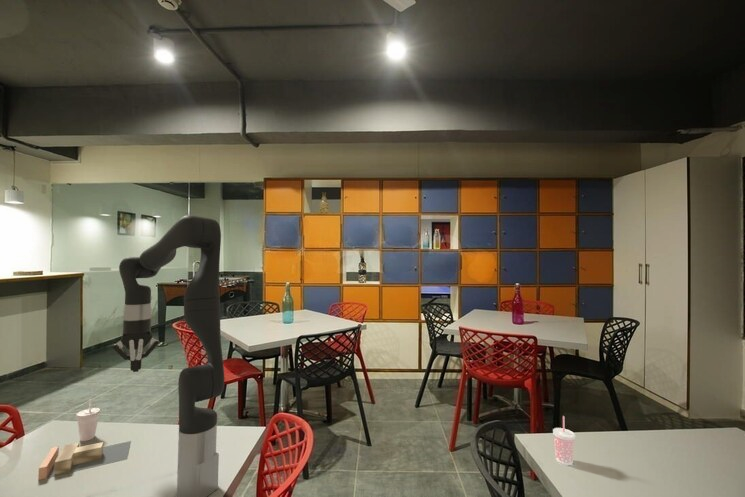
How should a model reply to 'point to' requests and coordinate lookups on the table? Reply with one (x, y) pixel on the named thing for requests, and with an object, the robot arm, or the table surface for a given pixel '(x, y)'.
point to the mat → (108, 456)
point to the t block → (76, 456)
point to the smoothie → (87, 422)
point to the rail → (48, 463)
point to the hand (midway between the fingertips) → (135, 371)
